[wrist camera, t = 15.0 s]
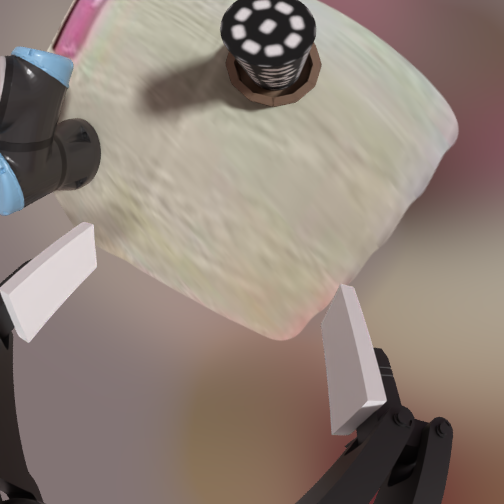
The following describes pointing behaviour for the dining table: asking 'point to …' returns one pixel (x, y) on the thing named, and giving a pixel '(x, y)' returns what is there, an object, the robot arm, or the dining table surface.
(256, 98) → the holder
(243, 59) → the white-spotted black cylinder
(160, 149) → the dining table surface
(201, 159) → the dining table surface
